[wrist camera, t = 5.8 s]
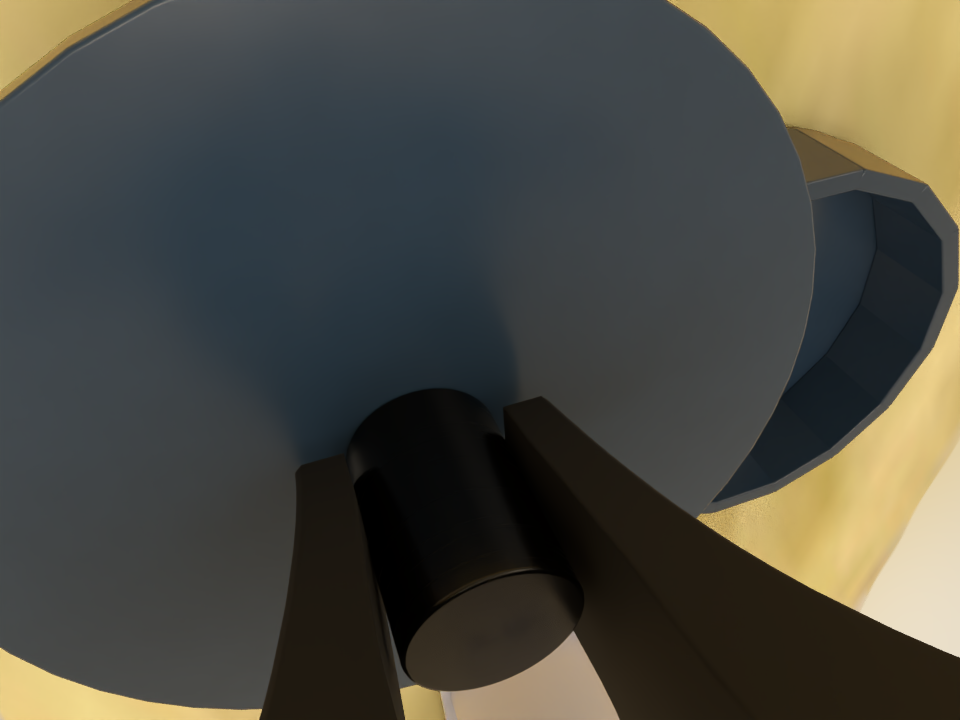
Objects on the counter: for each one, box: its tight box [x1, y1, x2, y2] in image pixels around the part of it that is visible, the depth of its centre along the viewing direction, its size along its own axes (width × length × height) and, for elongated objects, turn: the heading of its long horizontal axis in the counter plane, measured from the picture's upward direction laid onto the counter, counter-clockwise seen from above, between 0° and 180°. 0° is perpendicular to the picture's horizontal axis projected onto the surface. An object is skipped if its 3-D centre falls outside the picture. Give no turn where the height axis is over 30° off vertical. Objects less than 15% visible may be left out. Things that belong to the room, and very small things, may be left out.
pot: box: [701, 127, 959, 514], centre depth 25 cm, size 13×13×3 cm
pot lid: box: [0, 0, 816, 710], centre depth 11 cm, size 14×14×4 cm
